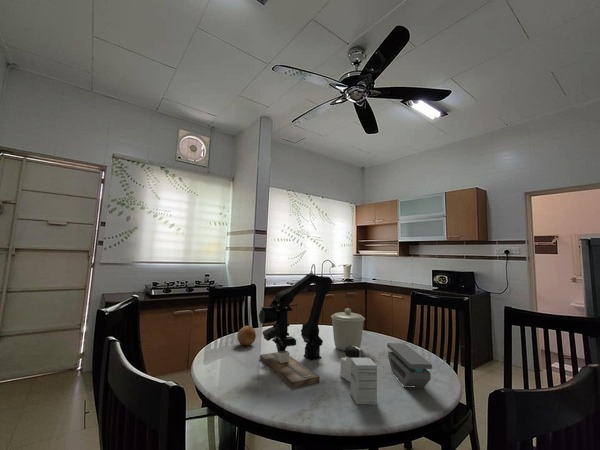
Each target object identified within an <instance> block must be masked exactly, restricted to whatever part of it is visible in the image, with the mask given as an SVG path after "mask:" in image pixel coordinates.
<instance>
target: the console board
mask: <svg viewBox="0 0 600 450" xmlns="http://www.w3.org/2000/svg"><path fill="white" fill-rule="evenodd" d="M259 360H260V361H261V362H262V363H263V364H264V365H266V366H267V367H268V368H269V369H270V370H271V371H272V372H274V373H275V374H276V375H277V376H278V377H280V378H281V380H282V381H284V382H285V383H286V384H287V385H289V386H290V387H291V388H292V389H293V388H298V387H299V388H300V387H304V386H307V385H308V386H309V385H312V384H315V383H319V382H321V381H320V380H321V377H320V375H319V374H317V373H316V372H314V371H313V370H312V369H310V368H308V367H307V366H305V365H304V364H302V362H300V361H298V360H296V359H295V358H294V357H292V356H291V355H289V362H285V363H280V362H279V361H278V351H275V352H268V353H262V354H259Z"/></svg>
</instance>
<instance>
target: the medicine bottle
mask: <svg viewBox="0 0 600 450" xmlns="http://www.w3.org/2000/svg"><path fill="white" fill-rule="evenodd" d="M360 348H361V347H360ZM360 348H358V347H356V346H348V347H346V348H345V351H344V352H345V354H344V355H345V356H344V357H341V358H340V377H342V379H344V380H345V381H347V382H349V383H350V382H351V358H361V349H360Z"/></svg>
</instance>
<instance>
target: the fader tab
mask: <svg viewBox="0 0 600 450" xmlns="http://www.w3.org/2000/svg"><path fill="white" fill-rule="evenodd" d="M277 352H278V361H279V362H280V363H285V362H289V356H290V353H291V352H290V351H288V349H285V351H277Z"/></svg>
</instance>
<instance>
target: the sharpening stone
mask: <svg viewBox="0 0 600 450" xmlns="http://www.w3.org/2000/svg"><path fill="white" fill-rule="evenodd" d="M386 347H387V348H388V349H389V350H390V351H387V352H388V353H387V357H388V361H389V365H390V369H391V372H393V374H394V375H395V376H396V377H397V378H398V380H399V381H400V382H401V383H402V384H403V385H404V386H415V387H414V388H416V387H424V388H425V387H426V386H427V384H428V383H429V382H430V381H431V379H432V377H431V376H432V375H431V372H430V371H429V370H432V369H433V364H432V363H431V362H429V361H428V360H426V359H425V358H424V357H423V356H422V355H421V354H419V353H418V352H417V351H415V350H414V349H412V347H410V346H408V344H406V343H400V342H398V343H397V342H387V345H386ZM393 374H392V375H393ZM398 380H397V381H398ZM399 381H398V382H399Z"/></svg>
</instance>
